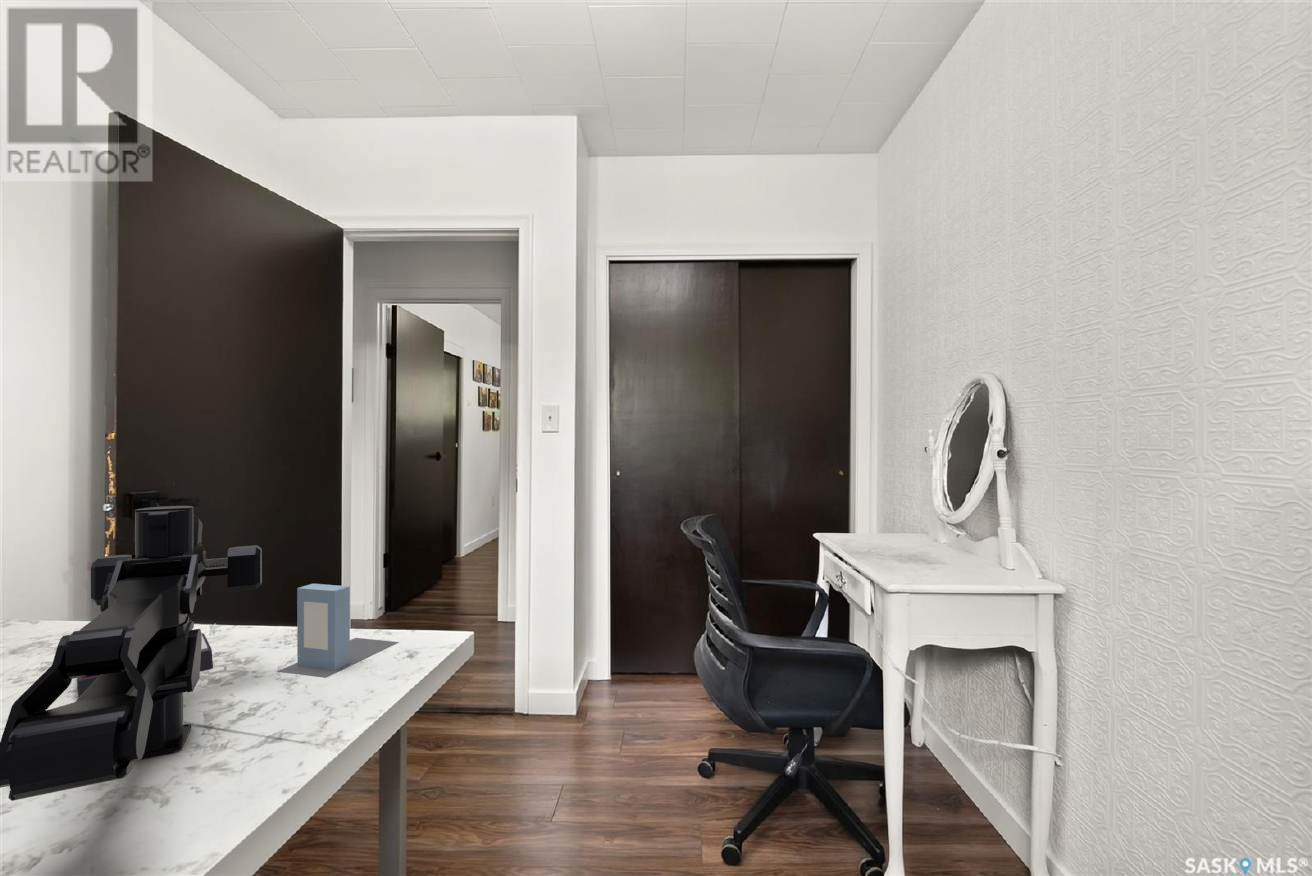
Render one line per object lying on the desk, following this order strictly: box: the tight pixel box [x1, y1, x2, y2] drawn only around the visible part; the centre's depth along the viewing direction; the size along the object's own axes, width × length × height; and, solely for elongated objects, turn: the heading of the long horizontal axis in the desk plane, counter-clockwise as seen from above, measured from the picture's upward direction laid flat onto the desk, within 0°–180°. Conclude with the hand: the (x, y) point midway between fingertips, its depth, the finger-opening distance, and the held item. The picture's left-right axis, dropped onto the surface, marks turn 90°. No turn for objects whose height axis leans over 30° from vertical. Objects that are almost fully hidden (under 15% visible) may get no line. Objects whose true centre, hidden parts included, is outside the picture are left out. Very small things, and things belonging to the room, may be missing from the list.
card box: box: [296, 583, 351, 670], centre depth 94 cm, size 3×7×12 cm, turn 75°
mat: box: [276, 637, 400, 679], centre depth 98 cm, size 16×9×1 cm, turn 165°
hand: (193, 563), depth 93 cm, fingers open, 9 cm apart
